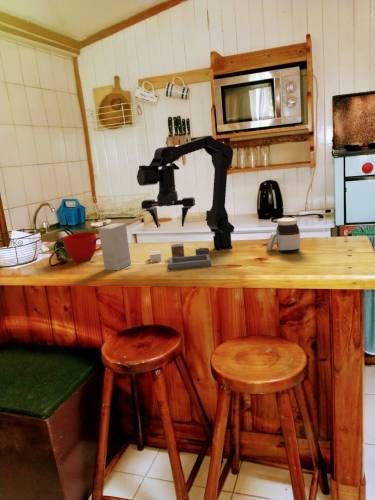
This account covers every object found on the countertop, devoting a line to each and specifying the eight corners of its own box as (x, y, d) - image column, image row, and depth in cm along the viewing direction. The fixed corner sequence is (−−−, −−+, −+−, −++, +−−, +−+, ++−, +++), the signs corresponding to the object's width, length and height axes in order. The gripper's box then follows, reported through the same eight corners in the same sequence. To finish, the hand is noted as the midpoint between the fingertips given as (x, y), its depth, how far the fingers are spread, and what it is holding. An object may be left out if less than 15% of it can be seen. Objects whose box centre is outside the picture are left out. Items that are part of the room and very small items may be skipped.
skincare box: (118, 263, 151) (113, 222, 147) (132, 264, 147) (127, 222, 144) (103, 270, 144) (97, 227, 140) (117, 271, 141) (111, 227, 137)
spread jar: (302, 253, 140) (301, 220, 137) (270, 256, 140) (268, 223, 137) (294, 246, 151) (293, 215, 149) (264, 248, 152) (262, 218, 149)
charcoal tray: (209, 259, 144) (208, 254, 144) (211, 266, 135) (210, 260, 135) (170, 263, 144) (169, 257, 144) (169, 270, 135) (169, 264, 135)
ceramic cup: (100, 263, 154) (96, 237, 152) (60, 264, 158) (56, 240, 156) (113, 254, 167) (109, 231, 164) (75, 256, 170) (72, 233, 168)
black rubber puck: (209, 255, 151) (208, 247, 150) (210, 258, 146) (209, 250, 145) (195, 256, 151) (195, 248, 150) (196, 259, 146) (195, 251, 145)
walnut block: (184, 256, 153) (183, 243, 152) (184, 259, 148) (183, 246, 147) (172, 257, 153) (171, 244, 152) (172, 260, 148) (171, 247, 147)
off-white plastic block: (161, 257, 155) (160, 250, 154) (161, 261, 149) (160, 253, 148) (151, 258, 154) (150, 251, 154) (150, 262, 149) (149, 254, 148)
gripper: (135, 186, 136) (139, 231, 139) (190, 183, 133) (193, 229, 136) (143, 184, 147) (147, 226, 150) (194, 181, 144) (196, 224, 147)
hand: (170, 226), depth 146 cm, fingers open, 9 cm apart
